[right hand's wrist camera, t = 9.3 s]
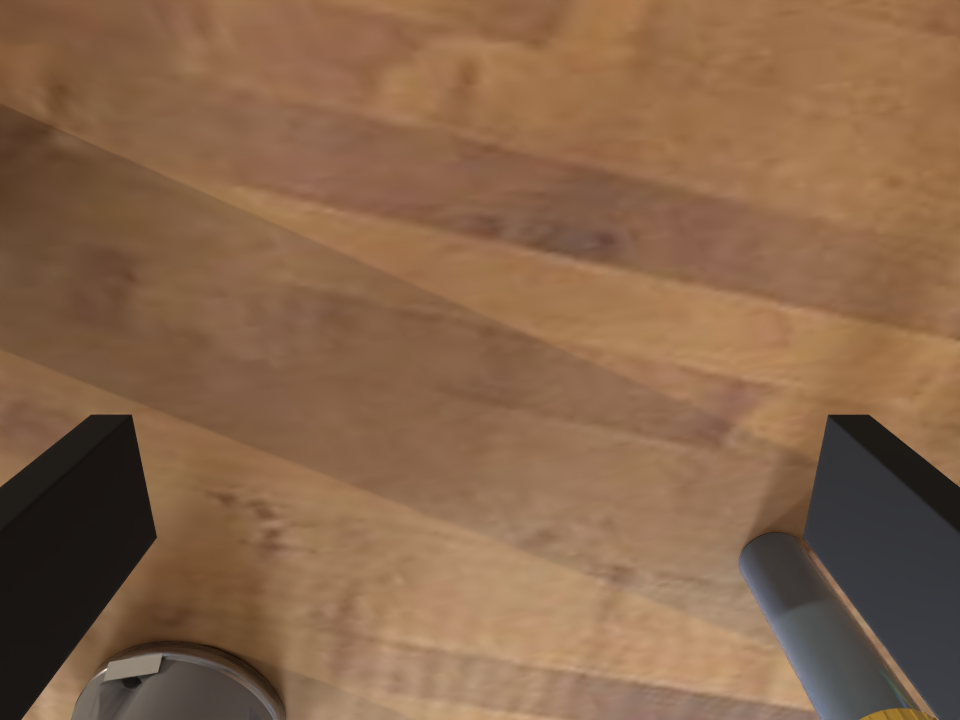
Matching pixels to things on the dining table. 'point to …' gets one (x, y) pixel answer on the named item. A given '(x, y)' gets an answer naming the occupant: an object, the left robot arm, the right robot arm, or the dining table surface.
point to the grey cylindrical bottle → (819, 632)
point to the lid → (898, 715)
